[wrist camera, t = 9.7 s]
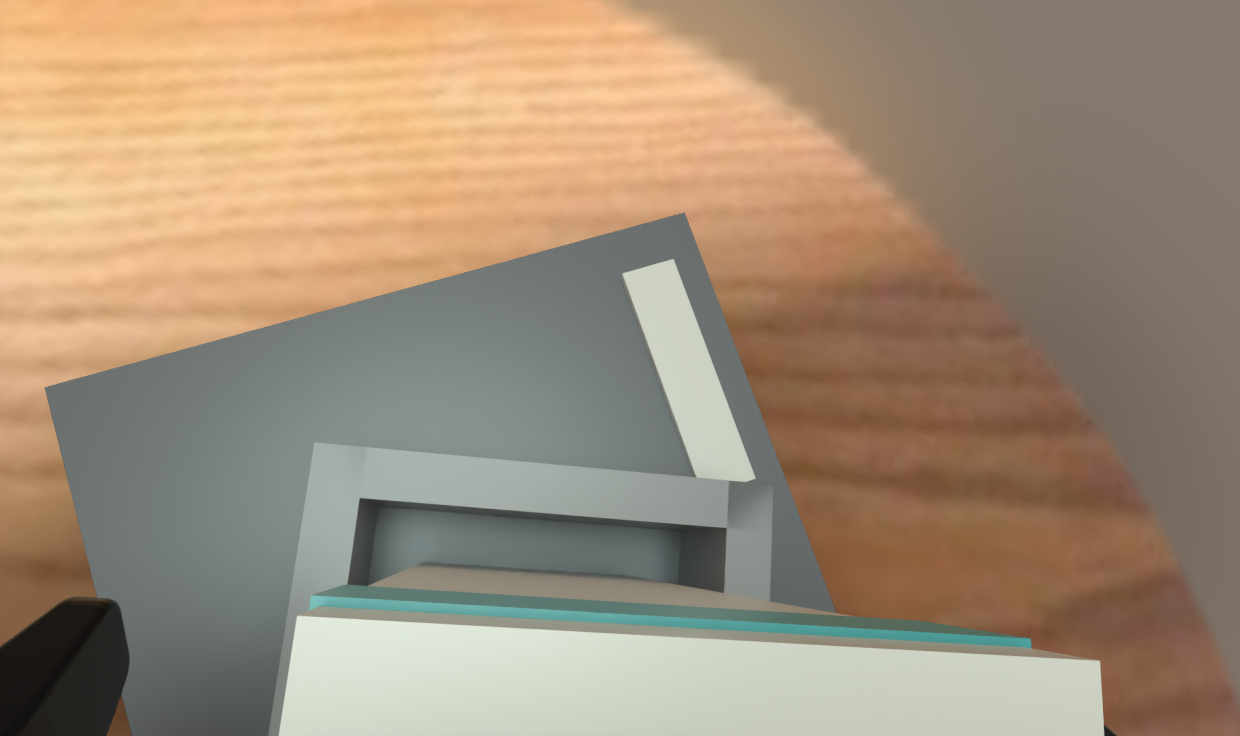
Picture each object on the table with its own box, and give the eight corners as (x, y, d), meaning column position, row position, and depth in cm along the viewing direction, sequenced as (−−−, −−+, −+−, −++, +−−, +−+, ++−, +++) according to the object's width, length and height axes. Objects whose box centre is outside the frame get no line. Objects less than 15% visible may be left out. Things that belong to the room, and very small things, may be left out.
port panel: (924, 920, 17) (1077, 1044, 13) (302, 1262, 14) (233, 1575, 10) (668, 237, 20) (726, 149, 15) (81, 401, 16) (-56, 349, 12)
